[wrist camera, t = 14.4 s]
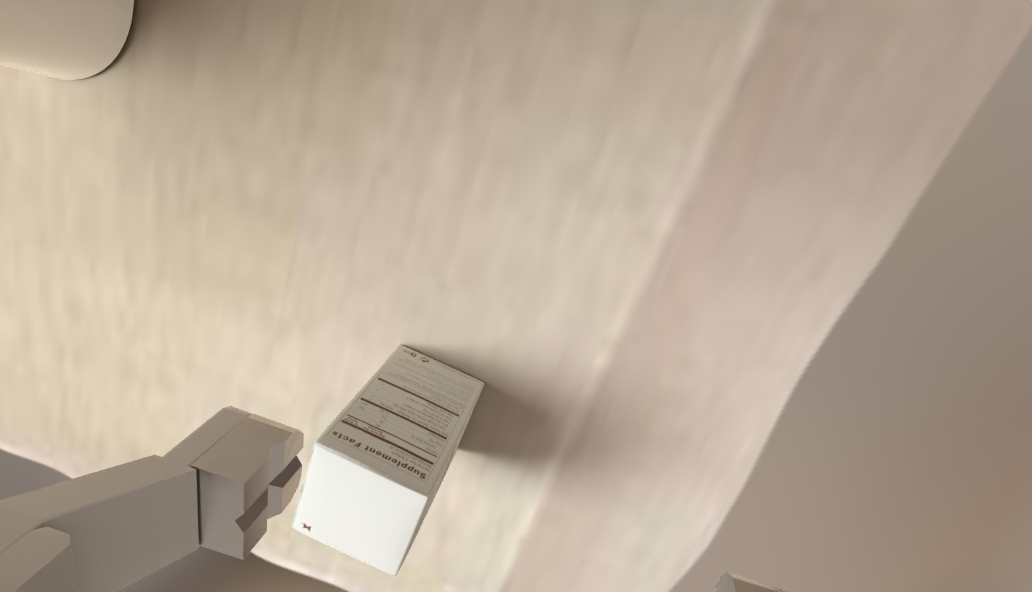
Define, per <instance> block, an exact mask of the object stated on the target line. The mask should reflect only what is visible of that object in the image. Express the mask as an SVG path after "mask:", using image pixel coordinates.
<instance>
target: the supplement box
mask: <svg viewBox="0 0 1032 592" xmlns="http://www.w3.org/2000/svg"><path fill="white" fill-rule="evenodd" d="M483 387H484V382H482V381H480V380H478V379H476V378H474V377H472V376H470V375H467V374H465V373H463V372H461V371H459V370H456V369H454V368H452V367H450V366H448V365H446V364H443V363H441V362H439V361H437V360H434V359H432V358H430V357H428V356H426V355H423V354H421V353H419V352H417V351H414V350H412V349H410V348H408V347H405V346H403V345H399V346H398V348H397V349H396V350H395V351H394V352H393V353H392V354H391V356H390V357H389V358H388V359H387V360H386V362H385V363H384V364H383V365H382V366H381V367H380V368H379V370H378V371H377V372H376V373H375V374H374V375H373V376H372V377H371V379H370V380H369V381H368V382H367V383H366V384H365V385H364V387H363V388H362V389H361V390H360V391H359V392H358V393H357V395H356V396H355V397H354V398H353V399H352V400H351V401H350V402H349V403H348V405H347V406H346V407H345V408H344V409H343V410H342V411H341V413H340V414H339V415H338V416H337V417H336V418H335V419H334V420H333V422H332V423H331V424H330V425H329V426H328V427H327V429H326V430H325V431H324V432H323V433H322V435H321V436H320V437H319V438H318V439H317V441H316V442H315V443H314V445H313V449H312V452H311V456H310V460H309V464H308V467H307V471H306V475H305V479H304V482H303V485H302V488H301V492H300V497H299V501H298V504H297V508H296V512H295V515H294V519H293V522H292V528H294V529H296V530H297V531H299V532H301V533H303V534H305V535H307V536H309V537H311V538H313V539H315V540H317V541H319V542H321V543H324V544H326V545H328V546H330V547H332V548H334V549H336V550H339V551H341V552H343V553H345V554H347V555H349V556H352V557H354V558H356V559H358V560H360V561H362V562H364V563H367V564H369V565H371V566H373V567H375V568H377V569H379V570H381V571H384V572H386V573H388V574H391V575H394V576H395V575H397V573H398V571H399V569H400V567H401V566H402V564H403V562H404V560H405V558H406V556H407V554H408V552H409V550H410V548H411V546H412V543H413V541H414V539H415V537H416V535H417V533H418V531H419V529H420V527H421V525H422V522H423V520H424V518H425V516H426V514H427V512H428V510H429V508H430V506H431V504H432V502H433V499H434V497H435V495H436V493H437V491H438V489H439V487H440V485H441V483H442V480H443V478H444V476H445V474H446V472H447V470H448V468H449V466H450V463H451V461H452V459H453V457H454V455H455V453H456V450H457V448H458V446H459V443H460V441H461V439H462V436H463V434H464V431H465V429H466V427H467V424H468V422H469V420H470V417H471V415H472V412H473V410H474V408H475V405H476V403H477V400H478V398H479V396H480V394H481V391H482V389H483Z"/></svg>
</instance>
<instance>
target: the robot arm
mask: <svg viewBox="0 0 1032 592" xmlns="http://www.w3.org/2000/svg"><path fill="white" fill-rule="evenodd" d="M133 7H134V0H0V65H3V66H9V67H14V68H18V69H23V70H27V71H31V72H35V73H39V74H42V75H46V76H49V77H53V78H57V79H64V80H77V79H83V78H87V77H90V76H93V75H95V74H97V73H99V72H100V71H102V70H103V69H105V68H106V67H107V66H108V65H109V64H111V63H112V61H113V60H114V59H115V58H116V57H117V55H118V54H119V52H120V51H121V49H122V47H123V45H124V43H125V41H126V38H127V36H128V33H129V29H130V26H131V21H132V15H133ZM303 435H304V434H303V433H302V432H301V431H300V430H297V429H294V428H292V427H289V426H286V425H283V424H281V423H278V422H275V421H272V420H270V419H267V418H264V417H261V416H259V415H256V414H251V413H249V412H246V411H243V410H240V409H238V408H235V407H232V406H230V407H226V408H223V409H221V410H220V411H219V412H218V413H216V414H215V415H214V416H213V417H211V418H210V419H209V420H208V421H206V422H205V423H204V424H203V425H201V426H200V427H199V428H198V429H196V430H195V431H194V432H193V433H191V434H190V435H189V436H188V437H186V438H185V439H184V440H183V441H182V442H180V443H179V444H178V445H177V446H175V447H174V448H173V449H172V450H170V451H169V452H168V453H167V454H165V455H164V456H163V457H160V456H157V455H152V456H149V457H146V458H142V459H139V460H135V461H132V462H129V463H125V464H122V465H118V466H115V467H112V468H108V469H105V470H101V471H98V472H95V473H91V474H88V475H84V476H81V477H78V478H74V479H71V480H67V481H64V482H61V483H57V484H54V485H51V486H47V487H44V488H40V489H37V490H34V491H30V492H27V493H23V494H20V495H17V496H13V497H10V498H6V499H3V500H0V592H117V591H119V590H121V589H123V588H124V587H126V586H128V585H130V584H132V583H134V582H136V581H138V580H140V579H142V578H144V577H145V576H147V575H149V574H151V573H153V572H155V571H157V570H158V569H161V568H162V567H165V566H166V565H168V564H170V563H172V562H174V561H176V560H178V559H180V558H182V557H184V556H185V555H187V554H189V553H191V552H193V551H195V550H197V549H199V546H203V547H206V548H209V549H212V550H215V551H218V552H221V553H224V554H227V555H230V556H233V557H236V558H239V559H244V558H245V557H246V556H247V555H248V553H249V552H250V551H251V550H252V548H253V547H254V546H255V545H256V544H257V542H258V541H259V540H260V539H261V537H262V536H263V535H264V534H265V533H266V531H267V519H269V518H271V517H273V516H276V515H278V514H281V513H282V512H283V510H284V509H285V508H286V506H287V505H288V504H289V503H290V501H291V499H292V497H293V495H294V493H295V492H296V490H297V488H298V485H299V481H300V478H301V472H302V464H301V462H300V461H299V459H298V457H297V456H296V455H297V454H298V453H299V451H300V450H301V449H302V448H303ZM717 592H788V591H783V590H782V589H779V588H775V587H772V586H769V585H766V584H763V583H760V582H757V581H754V580H751V579H747V578H744V577H741V576H738V575H735V574H732V573H728V572H727V573H726V574H724V575H723V576H722V577H721V579H720V581H719V582H718V584H717Z"/></svg>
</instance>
